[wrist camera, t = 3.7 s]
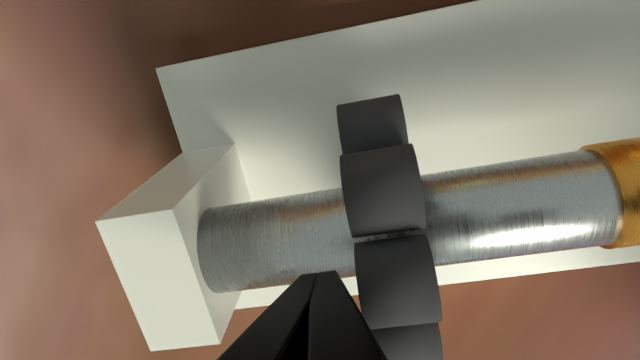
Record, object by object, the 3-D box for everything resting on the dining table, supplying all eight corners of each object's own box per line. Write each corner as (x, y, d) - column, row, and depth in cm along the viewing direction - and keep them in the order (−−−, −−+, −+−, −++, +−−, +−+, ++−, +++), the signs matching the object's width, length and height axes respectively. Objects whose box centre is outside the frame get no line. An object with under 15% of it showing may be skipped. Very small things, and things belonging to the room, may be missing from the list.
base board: (801, -68, 12) (1241, -152, 6) (748, 232, 16) (997, 367, 10) (167, 65, 15) (41, 98, 9) (240, 294, 18) (184, 429, 12)
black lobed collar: (388, 75, 13) (420, 130, 7) (414, 261, 15) (456, 432, 9) (340, 84, 13) (328, 146, 7) (373, 266, 16) (386, 437, 9)
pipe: (876, 83, 10) (1038, 105, 8) (850, 181, 11) (989, 227, 9) (186, 195, 13) (146, 236, 10) (210, 267, 14) (179, 321, 11)
